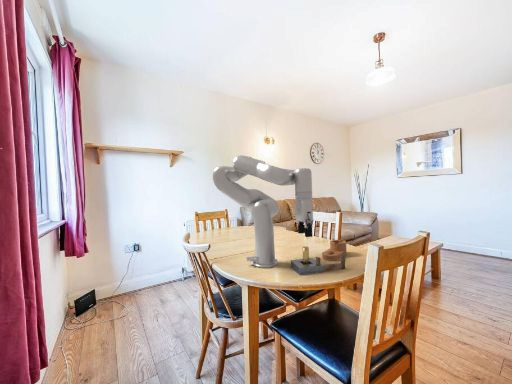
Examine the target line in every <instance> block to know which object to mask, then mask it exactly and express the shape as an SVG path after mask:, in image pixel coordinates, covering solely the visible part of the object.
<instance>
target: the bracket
mask: <svg viewBox="0 0 512 384" xmlns="http://www.w3.org/2000/svg"><path fill="white" fill-rule="evenodd" d="M342 254H343V255H345V256H347V241H346V240H341V239H331V240H329V248H328V249H326V250H324V251H323V252H322V253H321V259H322V260H323V261H328V262H337V261H340V260H341V259H340V255H342Z"/></svg>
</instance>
